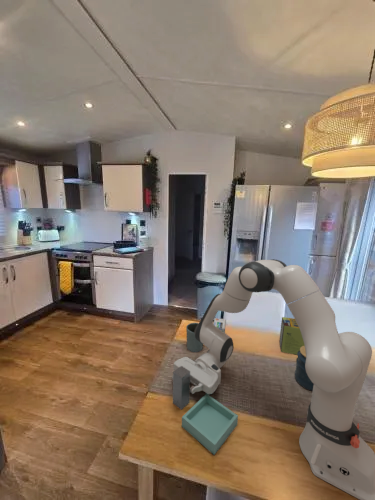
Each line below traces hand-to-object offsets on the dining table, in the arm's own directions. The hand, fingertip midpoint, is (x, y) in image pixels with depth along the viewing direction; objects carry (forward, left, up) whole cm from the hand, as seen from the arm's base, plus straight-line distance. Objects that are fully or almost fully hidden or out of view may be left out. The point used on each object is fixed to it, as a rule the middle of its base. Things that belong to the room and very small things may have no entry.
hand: (181, 384), depth 91 cm
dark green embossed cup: (+19, -31, -8) cm, 37 cm away
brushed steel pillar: (0, 0, -8) cm, 8 cm away
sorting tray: (-14, 0, -8) cm, 16 cm away
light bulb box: (+14, -46, -8) cm, 49 cm away
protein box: (-21, -68, -8) cm, 71 cm away
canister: (-34, -48, -8) cm, 59 cm away
